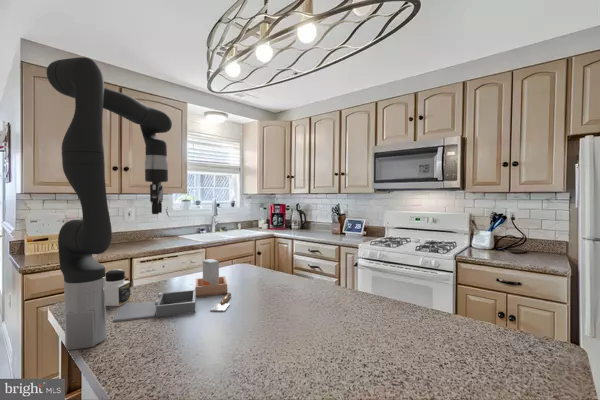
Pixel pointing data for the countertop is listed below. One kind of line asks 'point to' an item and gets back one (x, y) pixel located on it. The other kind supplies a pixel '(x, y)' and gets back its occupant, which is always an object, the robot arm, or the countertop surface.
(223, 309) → the hand shovel
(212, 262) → the skincare box
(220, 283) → the bin
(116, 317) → the bin
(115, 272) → the medicine bottle
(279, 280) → the countertop surface
